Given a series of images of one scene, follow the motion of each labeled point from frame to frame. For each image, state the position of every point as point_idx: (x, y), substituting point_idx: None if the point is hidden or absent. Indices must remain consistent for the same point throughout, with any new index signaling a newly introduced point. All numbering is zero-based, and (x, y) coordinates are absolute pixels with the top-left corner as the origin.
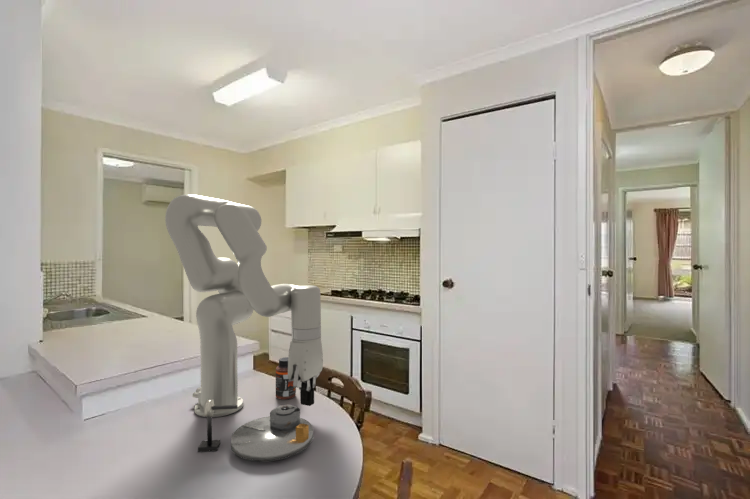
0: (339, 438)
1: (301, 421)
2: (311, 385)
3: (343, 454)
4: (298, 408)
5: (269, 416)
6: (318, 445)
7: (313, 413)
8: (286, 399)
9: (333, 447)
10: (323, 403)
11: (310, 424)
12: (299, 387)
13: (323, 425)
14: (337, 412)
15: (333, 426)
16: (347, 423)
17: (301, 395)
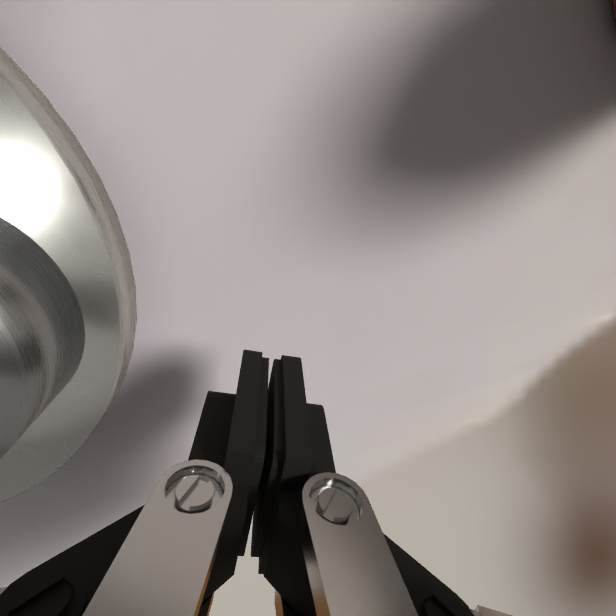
0: None
1: (63, 404)
2: (278, 594)
3: (3, 579)
4: (1, 451)
5: (10, 96)
6: None
7: (365, 333)
8: (614, 6)
9: (34, 536)
10: (522, 338)
11: (50, 469)
12: (89, 544)
13: None
14: (396, 447)
15: None
16: None
17: (197, 431)
